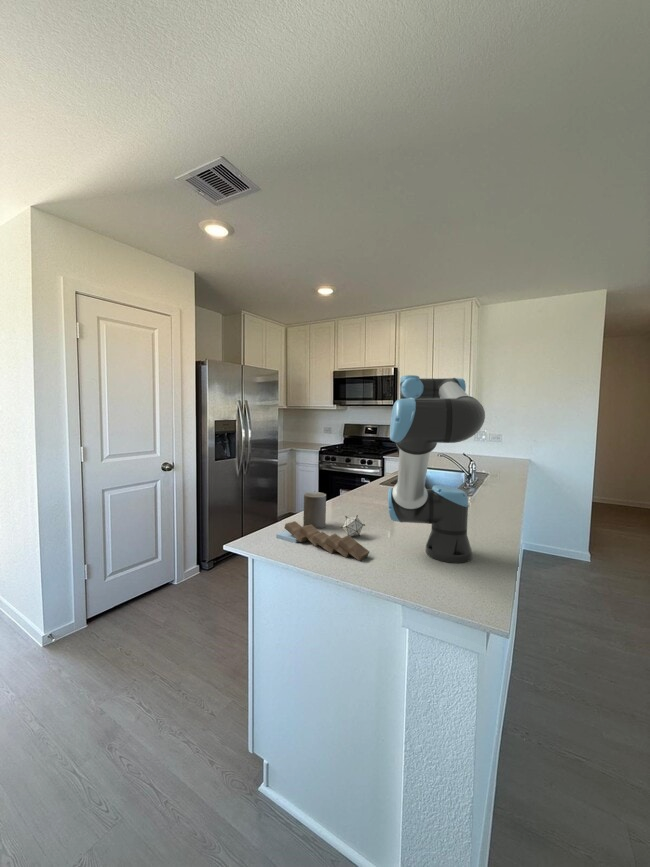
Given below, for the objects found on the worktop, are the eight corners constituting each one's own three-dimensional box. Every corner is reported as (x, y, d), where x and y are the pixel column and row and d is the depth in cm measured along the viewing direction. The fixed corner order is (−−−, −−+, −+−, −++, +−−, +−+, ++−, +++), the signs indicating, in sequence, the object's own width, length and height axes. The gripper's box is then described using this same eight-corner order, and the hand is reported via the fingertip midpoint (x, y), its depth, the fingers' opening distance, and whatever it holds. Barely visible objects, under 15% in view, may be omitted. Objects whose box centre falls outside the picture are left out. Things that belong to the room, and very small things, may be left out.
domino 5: (356, 548, 124) (335, 533, 129) (348, 553, 120) (326, 537, 125) (354, 553, 125) (333, 538, 130) (346, 557, 120) (324, 542, 126)
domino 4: (342, 544, 127) (322, 531, 133) (333, 548, 123) (313, 534, 129) (340, 549, 128) (321, 536, 134) (331, 553, 124) (311, 539, 130)
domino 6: (369, 551, 121) (347, 535, 126) (361, 556, 117) (339, 539, 122) (367, 556, 122) (346, 539, 127) (359, 561, 118) (337, 543, 123)
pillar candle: (300, 528, 151) (300, 492, 150) (306, 521, 161) (307, 488, 160) (322, 530, 149) (323, 494, 148) (328, 523, 158) (328, 489, 157)
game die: (356, 546, 141) (363, 531, 135) (336, 537, 142) (342, 522, 136) (362, 529, 148) (369, 514, 141) (343, 521, 149) (349, 506, 143)
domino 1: (304, 535, 138) (284, 530, 143) (295, 539, 134) (276, 534, 139) (304, 540, 138) (284, 535, 143) (295, 544, 134) (276, 539, 139)
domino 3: (327, 539, 133) (311, 524, 139) (317, 542, 129) (301, 526, 136) (325, 543, 133) (310, 528, 140) (315, 546, 130) (300, 531, 136)
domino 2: (311, 534, 136) (295, 521, 142) (302, 537, 132) (285, 523, 138) (310, 539, 137) (293, 525, 142) (300, 542, 133) (284, 527, 138)
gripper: (428, 415, 141) (427, 475, 142) (398, 415, 149) (396, 471, 150) (421, 415, 135) (419, 477, 136) (389, 415, 143) (388, 473, 144)
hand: (407, 474), depth 143 cm, fingers closed
